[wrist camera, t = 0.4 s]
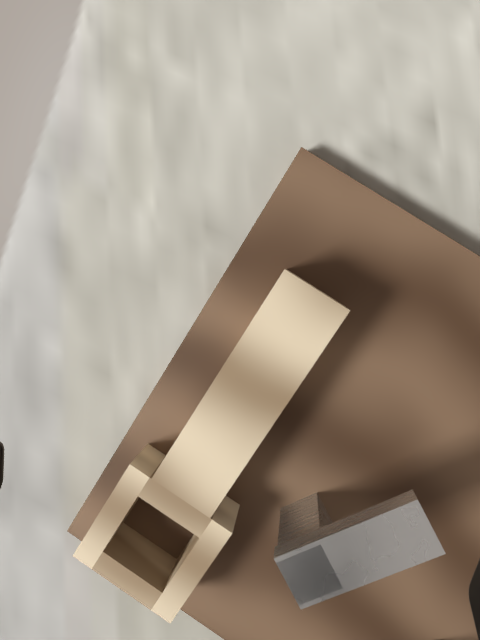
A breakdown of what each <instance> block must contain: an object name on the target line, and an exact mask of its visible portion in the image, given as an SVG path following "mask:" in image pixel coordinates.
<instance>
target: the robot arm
mask: <svg viewBox="0 0 480 640" xmlns="http://www.w3.org/2000/svg"><path fill="white" fill-rule="evenodd" d="M3 469H4V446H3V444H2V443H1V442H0V488H1V485H2V482H3ZM469 601H470V606H471V610H472V614H473V619H474V623H475V627H476V631H477V636H478V640H480V559H479V562H478V564H477V567H476V569H475V572H474V574H473V577H472V579H471V582H470V585H469Z"/></svg>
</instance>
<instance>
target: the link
mask: <svg viewBox="0 0 480 640" xmlns="http://www.w3.org/2000/svg"><path fill="white" fill-rule="evenodd" d="M349 312H350V310H349V309H348V308H347V307H345V306H344V305H342V304H341V303H339V302H338V301H336V300H335V299H333V298H331V297H330V296H328V295H327V294H325V293H323V292H322V291H320V290H319V289H317V288H316V287H314V286H312V285H311V284H309V283H308V282H306V281H304V280H303V279H301V278H300V277H298V276H296V275H295V274H293V273H292V272H290V271H289V270H287V269H284V271H283V272H282V274H281V275H280V277H279V279H278V280H277V282H276V283H275V285H274V287H273V288H272V290H271V291H270V293H269V294H268V296H267V298H266V299H265V301H264V302H263V304H262V305H261V307H260V309H259V310H258V312H257V313H256V315H255V316H254V318H253V320H252V321H251V323H250V324H249V326H248V327H247V329H246V331H245V332H244V334H243V335H242V337H241V338H240V340H239V342H238V343H237V345H236V346H235V348H234V350H233V351H232V353H231V354H230V356H229V357H228V359H227V361H226V362H225V364H224V365H223V367H222V368H221V370H220V372H219V373H218V375H217V376H216V378H215V379H214V381H213V383H212V384H211V386H210V387H209V389H208V390H207V392H206V394H205V395H204V397H203V398H202V400H201V401H200V403H199V405H198V406H197V408H196V409H195V411H194V413H193V414H192V416H191V417H190V419H189V420H188V422H187V424H186V425H185V427H184V428H183V430H182V431H181V433H180V435H179V436H178V438H177V439H176V441H175V442H174V444H173V446H172V447H171V449H170V450H169V452H168V453H167V455H164V454H163V453H161V452H160V451H158V450H157V449H155V448H154V447H152V446H151V445H149V444H147V445H146V446H145V447H144V448H143V450H142V451H141V452H140V453H139V454H138V455H137V456H136V457H135V459H134V460H133V461H132V462H131V463H130V464H129V466H128V468H127V469H126V471H125V472H124V474H123V476H122V477H121V479H120V480H119V482H118V484H117V485H116V487H115V489H114V490H113V492H112V493H111V495H110V497H109V498H108V500H107V501H106V503H105V505H104V506H103V508H102V509H101V511H100V513H99V514H98V516H97V518H96V519H95V521H94V522H93V524H92V526H91V527H90V529H89V530H88V532H87V534H86V535H85V537H84V538H83V540H82V542H81V543H80V545H79V547H78V548H77V550H76V551H75V553H74V555H73V556H74V557H75V558H76V559H78V560H79V561H81V562H82V563H84V564H85V565H87V566H88V567H89V568H91V569H92V570H94V571H95V572H97V573H98V574H100V575H101V576H102V577H104V578H105V579H107V580H108V581H110V582H111V583H113V584H114V585H115V586H117V587H118V588H120V589H121V590H123V591H124V592H126V593H127V594H128V595H130V596H131V597H133V598H134V599H136V600H137V601H139V602H140V603H141V604H143V605H144V606H146V607H147V608H149V609H150V610H152V611H153V612H154V613H156V614H157V615H159V616H160V617H162V618H163V619H165V620H166V621H167V622H169V623H171V622H172V620H173V619H174V617H175V616H176V614H177V613H178V611H179V610H180V609H181V607H182V606H183V604H184V603H185V601H186V600H187V598H188V597H189V596H190V594H191V593H192V591H193V590H194V588H195V587H196V585H197V584H198V583H199V581H200V580H201V578H202V577H203V575H204V574H205V572H206V571H207V569H208V568H209V567H210V565H211V564H212V562H213V561H214V559H215V558H216V556H217V555H218V554H219V552H220V551H221V549H222V548H223V546H224V545H225V543H226V542H227V540H228V539H229V538H230V536H231V535H232V533H233V529H234V525H235V522H236V518H237V514H238V510H239V506H240V505H239V504H238V503H236V502H235V501H233V500H232V499H230V498H229V497H227V496H226V494H227V493H228V491H229V490H230V488H231V487H232V485H233V484H234V482H235V481H236V479H237V478H238V476H239V475H240V473H241V472H242V470H243V469H244V467H245V466H246V464H247V463H248V462H249V460H250V459H251V457H252V456H253V454H254V453H255V451H256V450H257V448H258V447H259V445H260V444H261V442H262V441H263V439H264V438H265V436H266V435H267V433H268V432H269V430H270V429H271V427H272V426H273V424H274V423H275V421H276V420H277V419H278V417H279V416H280V414H281V413H282V411H283V410H284V408H285V407H286V405H287V404H288V402H289V401H290V399H291V398H292V396H293V395H294V393H295V392H296V390H297V389H298V387H299V386H300V384H301V383H302V381H303V380H304V379H305V377H306V376H307V374H308V373H309V371H310V370H311V368H312V367H313V365H314V364H315V362H316V361H317V359H318V358H319V356H320V355H321V353H322V352H323V350H324V349H325V347H326V346H327V344H328V343H329V341H330V340H331V338H332V337H333V336H334V334H335V333H336V331H337V330H338V328H339V327H340V325H341V324H342V322H343V321H344V319H345V318H346V316H347V315H348V313H349ZM139 497H140V498H141V499H143V500H144V501H146V502H147V503H149V504H150V505H152V506H153V507H155V508H156V509H158V510H159V511H160V512H162V513H163V514H165V515H166V516H168V517H169V518H171V519H172V520H174V521H175V522H177V523H178V524H180V525H181V526H183V527H184V528H186V529H187V530H189V531H190V532H191V533H193V534H194V535H193V536H192V538H191V539H190V541H189V542H188V544H187V545H186V546H185V548H184V549H183V551H182V552H181V554H180V555H179V557H178V558H177V559H176V558H174V557H173V556H171V555H170V554H168V553H167V552H166V551H164V550H163V549H161V548H160V547H158V546H157V545H155V544H154V543H152V542H151V541H149V540H148V539H146V538H145V537H144V536H142V535H141V534H139V533H138V532H136V531H135V530H133V529H132V528H130V527H129V526H127V525H126V524H125V523H123V522H124V520H125V519H126V517H127V516H128V514H129V513H130V511H131V509H132V508H133V506H134V505H135V503H136V502H137V500H138V498H139Z"/></svg>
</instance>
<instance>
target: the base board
mask: <svg viewBox="0 0 480 640" xmlns="http://www.w3.org/2000/svg"><path fill="white" fill-rule="evenodd" d="M284 269H287V270H289V271H290V272H292V273H293V274H295V275H296V276H298V277H300V278H301V279H303V280H304V281H306V282H308V283H309V284H311V285H312V286H314V287H316V288H317V289H319V290H320V291H322V292H323V293H325V294H327V295H328V296H330V297H331V298H333V299H335V300H336V301H338V302H339V303H341V304H342V305H344V306H345V307H347V308H348V309H349V310H350V312H349V313H348V315H347V316H346V318H345V319H344V321H343V322H342V324H341V325H340V327H339V328H338V330H337V331H336V333H335V334H334V336H333V337H332V338H331V340H330V341H329V343H328V344H327V346H326V347H325V349H324V350H323V352H322V353H321V355H320V356H319V358H318V359H317V361H316V362H315V364H314V365H313V367H312V368H311V370H310V371H309V373H308V374H307V376H306V377H305V379H304V380H303V381H302V383H301V384H300V386H299V387H298V389H297V390H296V392H295V393H294V395H293V396H292V398H291V399H290V401H289V402H288V404H287V405H286V407H285V408H284V410H283V411H282V413H281V414H280V416H279V417H278V419H277V420H276V421H275V423H274V424H273V426H272V427H271V429H270V430H269V432H268V433H267V435H266V436H265V438H264V439H263V441H262V442H261V444H260V445H259V447H258V448H257V450H256V451H255V453H254V454H253V456H252V457H251V459H250V460H249V462H248V463H247V464H246V466H245V467H244V469H243V470H242V472H241V473H240V475H239V476H238V478H237V479H236V481H235V482H234V484H233V485H232V487H231V488H230V490H229V491H228V493H227V494H226V496H227V497H229V498H230V499H232V500H233V501H235V502H236V503H238V504H239V505H240V506H239V510H238V514H237V518H236V522H235V525H234V529H233V533H232V535H231V536H230V538H229V539H228V540H227V542H226V543H225V545H224V546H223V548H222V549H221V551H220V552H219V554H218V555H217V556H216V558H215V559H214V561H213V562H212V564H211V565H210V567H209V568H208V569H207V571H206V572H205V574H204V575H203V577H202V578H201V580H200V581H199V583H198V584H197V585H196V587H195V588H194V590H193V591H192V593H191V594H190V596H189V597H188V598H187V600H186V601H185V603H184V604H183V606H182V607H181V610H182V611H184V612H185V613H187V614H188V615H190V616H191V617H193V618H194V619H195V620H197V621H198V622H200V623H201V624H203V625H204V626H206V627H207V628H209V629H210V630H211V631H213V632H214V633H216V634H217V635H219V636H220V637H222V638H223V639H224V640H478V636H477V631H476V627H475V623H474V619H473V614H472V610H471V606H470V601H469V585H470V582H471V579H472V577H473V574H474V572H475V569H476V567H477V564H478V562H479V559H480V256H478V255H477V254H475V253H474V252H472V251H470V250H469V249H467V248H465V247H464V246H462V245H461V244H459V243H457V242H456V241H454V240H452V239H451V238H449V237H447V236H446V235H444V234H443V233H441V232H439V231H438V230H436V229H434V228H433V227H431V226H429V225H428V224H426V223H425V222H423V221H421V220H420V219H418V218H416V217H415V216H413V215H412V214H410V213H408V212H407V211H405V210H403V209H402V208H400V207H398V206H397V205H395V204H394V203H392V202H390V201H389V200H387V199H385V198H384V197H382V196H380V195H379V194H377V193H376V192H374V191H372V190H371V189H369V188H367V187H366V186H364V185H363V184H361V183H359V182H358V181H356V180H354V179H353V178H351V177H349V176H348V175H346V174H345V173H343V172H341V171H340V170H338V169H336V168H335V167H333V166H331V165H330V164H328V163H327V162H325V161H323V160H322V159H320V158H318V157H317V156H315V155H314V154H312V153H310V152H309V151H307V150H305V149H304V148H302V147H301V149H300V150H299V152H298V154H297V155H296V157H295V159H294V160H293V162H292V164H291V165H290V167H289V168H288V170H287V172H286V173H285V175H284V177H283V178H282V180H281V182H280V183H279V185H278V186H277V188H276V190H275V191H274V193H273V195H272V196H271V198H270V200H269V201H268V203H267V204H266V206H265V208H264V209H263V211H262V213H261V214H260V216H259V218H258V219H257V221H256V223H255V224H254V226H253V227H252V229H251V231H250V232H249V234H248V236H247V237H246V239H245V241H244V242H243V244H242V245H241V247H240V249H239V250H238V252H237V254H236V255H235V257H234V259H233V260H232V262H231V263H230V265H229V267H228V268H227V270H226V272H225V273H224V275H223V277H222V278H221V280H220V281H219V283H218V285H217V286H216V288H215V290H214V291H213V293H212V295H211V296H210V298H209V299H208V301H207V303H206V304H205V306H204V308H203V309H202V311H201V313H200V314H199V316H198V318H197V319H196V321H195V322H194V324H193V326H192V327H191V329H190V331H189V332H188V334H187V336H186V337H185V339H184V340H183V342H182V344H181V345H180V347H179V349H178V350H177V352H176V354H175V355H174V357H173V358H172V360H171V362H170V363H169V365H168V367H167V368H166V370H165V372H164V373H163V375H162V376H161V378H160V380H159V381H158V383H157V385H156V386H155V388H154V390H153V391H152V393H151V394H150V396H149V398H148V399H147V401H146V403H145V404H144V406H143V408H142V409H141V411H140V413H139V414H138V416H137V417H136V419H135V421H134V422H133V424H132V426H131V427H130V429H129V431H128V432H127V434H126V435H125V437H124V439H123V440H122V442H121V444H120V445H119V447H118V449H117V450H116V452H115V453H114V455H113V457H112V458H111V460H110V462H109V463H108V465H107V467H106V468H105V470H104V471H103V473H102V475H101V476H100V478H99V480H98V481H97V483H96V485H95V486H94V488H93V489H92V491H91V493H90V494H89V496H88V498H87V499H86V501H85V503H84V504H83V506H82V507H81V509H80V511H79V512H78V514H77V516H76V517H75V519H74V521H73V522H72V524H71V526H70V527H69V529H68V530H67V531H68V532H69V533H71V534H72V535H74V536H75V537H77V538H78V539H79V540H81V541H82V540H83V538H84V537H85V535H86V534H87V532H88V530H89V529H90V527H91V526H92V524H93V522H94V521H95V519H96V518H97V516H98V514H99V513H100V511H101V509H102V508H103V506H104V505H105V503H106V501H107V500H108V498H109V497H110V495H111V493H112V492H113V490H114V489H115V487H116V485H117V484H118V482H119V480H120V479H121V477H122V476H123V474H124V472H125V471H126V469H127V468H128V466H129V464H130V463H131V462H132V461H133V460H134V459H135V457H136V456H137V455H138V454H139V453H140V452H141V451H142V450H143V448H144V447H145V446H146V445H147V444H149V445H151V446H152V447H154V448H155V449H157V450H158V451H160V452H161V453H163V454H164V455H167V453H168V452H169V450H170V449H171V447H172V446H173V444H174V442H175V441H176V439H177V438H178V436H179V435H180V433H181V431H182V430H183V428H184V427H185V425H186V424H187V422H188V420H189V419H190V417H191V416H192V414H193V413H194V411H195V409H196V408H197V406H198V405H199V403H200V401H201V400H202V398H203V397H204V395H205V394H206V392H207V390H208V389H209V387H210V386H211V384H212V383H213V381H214V379H215V378H216V376H217V375H218V373H219V372H220V370H221V368H222V367H223V365H224V364H225V362H226V361H227V359H228V357H229V356H230V354H231V353H232V351H233V350H234V348H235V346H236V345H237V343H238V342H239V340H240V338H241V337H242V335H243V334H244V332H245V331H246V329H247V327H248V326H249V324H250V323H251V321H252V320H253V318H254V316H255V315H256V313H257V312H258V310H259V309H260V307H261V305H262V304H263V302H264V301H265V299H266V298H267V296H268V294H269V293H270V291H271V290H272V288H273V287H274V285H275V283H276V282H277V280H278V279H279V277H280V275H281V274H282V272H283V271H284ZM410 490H413V491H414V493H415V495H416V497H417V499H418V501H419V503H420V505H421V507H422V509H423V511H424V512H425V514H426V516H427V518H428V520H429V522H430V524H431V526H432V528H433V530H434V532H435V534H436V536H437V538H438V539H439V541H440V543H441V545H442V547H443V549H444V551H445V553H446V554H444V555H442V556H439V557H437V558H434V559H431V560H429V561H426V562H424V563H421V564H418V565H416V566H413V567H411V568H408V569H405V570H403V571H400V572H398V573H395V574H392V575H390V576H387V577H385V578H382V579H379V580H377V581H374V582H372V583H369V584H366V585H364V586H361V587H358V588H356V589H353V590H351V591H348V592H345V593H343V594H340V595H338V596H335V597H332V598H330V599H327V600H325V601H322V602H319V603H317V604H314V605H312V606H309V607H306V608H304V609H300V607H299V605H298V603H297V602H296V600H295V598H294V596H293V594H292V592H291V590H290V588H289V587H288V585H287V583H286V581H285V579H284V577H283V575H282V573H281V572H280V570H279V568H278V566H277V564H276V562H275V560H274V549H275V546H277V544H278V533H279V521H280V510H281V508H282V507H284V506H286V505H289V504H291V503H293V502H296V501H298V500H300V499H303V498H305V497H307V496H309V495H312V494H314V493H316V492H317V493H318V495H319V497H320V499H321V501H322V503H323V505H324V507H325V509H326V511H327V512H328V514H329V516H330V518H331V520H332V522H335V521H338V520H340V519H343V518H345V517H347V516H350V515H352V514H355V513H357V512H360V511H362V510H364V509H367V508H369V507H372V506H374V505H376V504H379V503H381V502H384V501H386V500H388V499H391V498H393V497H396V496H398V495H400V494H403V493H405V492H408V491H410ZM123 523H125V524H126V525H127V526H129V527H130V528H132V529H133V530H135V531H136V532H138V533H139V534H141V535H142V536H144V537H145V538H146V539H148V540H149V541H151V542H152V543H154V544H155V545H157V546H158V547H160V548H161V549H163V550H164V551H166V552H167V553H168V554H170V555H171V556H173V557H174V558H176V559H177V558H178V557H179V555H180V554H181V552H182V551H183V549H184V548H185V546H186V545H187V544H188V542H189V541H190V539H191V538H192V536H193V535H194V534H193V533H191V532H190V531H189V530H187V529H186V528H184V527H183V526H181V525H180V524H178V523H177V522H175V521H174V520H172V519H171V518H169V517H168V516H166V515H165V514H163V513H162V512H160V511H159V510H158V509H156V508H155V507H153V506H152V505H150V504H149V503H147V502H146V501H144V500H143V499H141V498H140V497H139V498H138V500H137V502H136V503H135V505H134V506H133V508H132V509H131V511H130V513H129V514H128V516H127V517H126V519H125V520H124V522H123Z"/></svg>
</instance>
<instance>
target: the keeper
mask: <svg viewBox="0 0 480 640" xmlns="http://www.w3.org/2000/svg"><path fill="white" fill-rule="evenodd" d="M444 554H446V553H445V551H444V549H443V547H442V545H441V543H440V541H439V539H438V538H437V536H436V534H435V532H434V530H433V528H432V526H431V524H430V522H429V520H428V518H427V516H426V514H425V512H424V511H423V509H422V507H421V505H420V503H419V501H418V499H417V497H416V495H415V493H414V491H413V490H410V491H408V492H405V493H403V494H400V495H398V496H396V497H393V498H391V499H388V500H386V501H384V502H381V503H379V504H376V505H374V506H372V507H369V508H367V509H364V510H362V511H360V512H357V513H355V514H352V515H350V516H347V517H345V518H343V519H340V520H338V521H335V522H332V520H331V518H330V516H329V514H328V512H327V511H326V509H325V507H324V505H323V503H322V501H321V499H320V497H319V495H318V493H317V492H316V493H314V494H312V495H309V496H307V497H305V498H303V499H300V500H298V501H296V502H293V503H291V504H289V505H286V506H284V507H282V508H281V510H280V521H279V533H278V544H277V546H275V549H274V560H275V562H276V564H277V566H278V568H279V570H280V572H281V573H282V575H283V577H284V579H285V581H286V583H287V585H288V587H289V588H290V590H291V592H292V594H293V596H294V598H295V600H296V602H297V603H298V605H299V607H300V609H304V608H306V607H309V606H312V605H314V604H317V603H319V602H322V601H325V600H327V599H330V598H332V597H335V596H338V595H340V594H343V593H345V592H348V591H351V590H353V589H356V588H358V587H361V586H364V585H366V584H369V583H372V582H374V581H377V580H379V579H382V578H385V577H387V576H390V575H392V574H395V573H398V572H400V571H403V570H405V569H408V568H411V567H413V566H416V565H418V564H421V563H424V562H426V561H429V560H431V559H434V558H437V557H439V556H442V555H444Z"/></svg>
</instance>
